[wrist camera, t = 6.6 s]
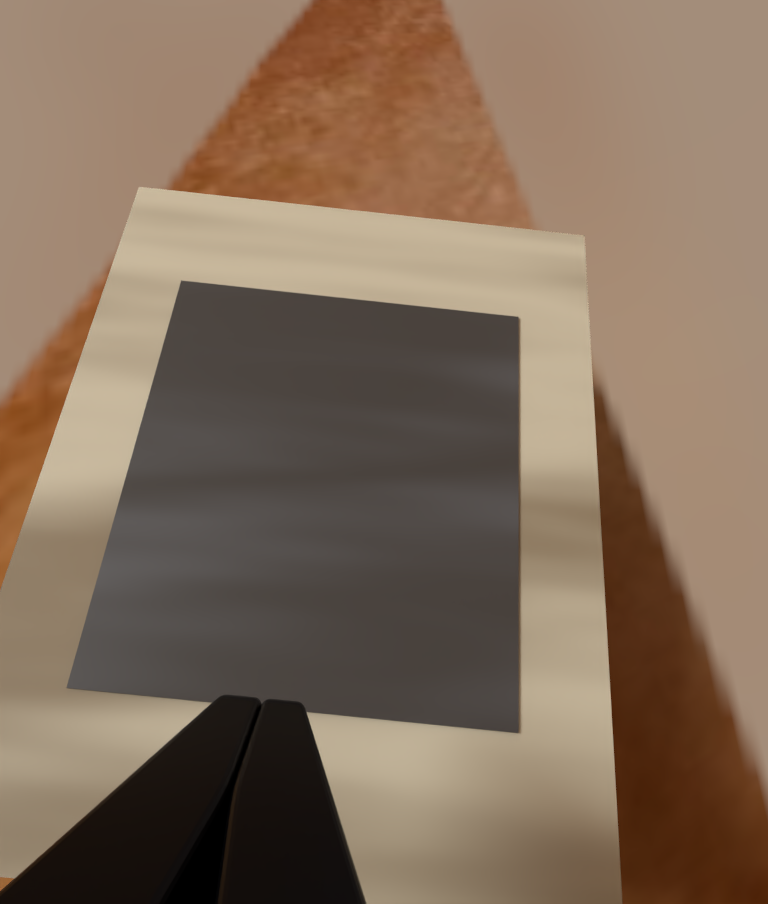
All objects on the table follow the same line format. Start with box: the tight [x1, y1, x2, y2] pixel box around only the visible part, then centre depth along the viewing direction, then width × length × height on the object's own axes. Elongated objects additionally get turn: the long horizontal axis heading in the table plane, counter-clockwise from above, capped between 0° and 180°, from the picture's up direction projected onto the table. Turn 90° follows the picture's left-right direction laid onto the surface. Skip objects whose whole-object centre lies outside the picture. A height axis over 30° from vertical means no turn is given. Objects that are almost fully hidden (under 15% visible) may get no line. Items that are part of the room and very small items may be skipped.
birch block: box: [0, 187, 622, 904], centre depth 14 cm, size 5×10×13 cm
